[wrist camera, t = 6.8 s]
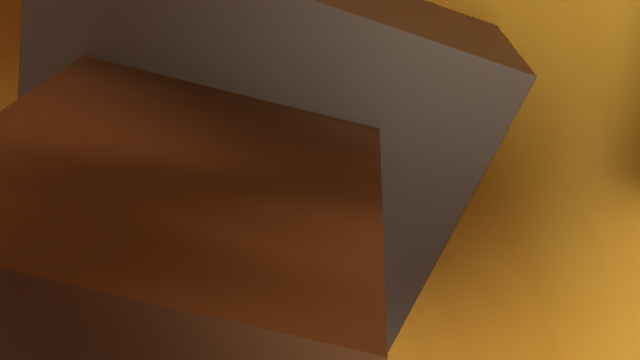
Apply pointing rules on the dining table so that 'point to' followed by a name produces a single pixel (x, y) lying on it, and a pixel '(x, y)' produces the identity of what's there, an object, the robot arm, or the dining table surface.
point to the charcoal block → (326, 89)
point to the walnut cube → (185, 224)
